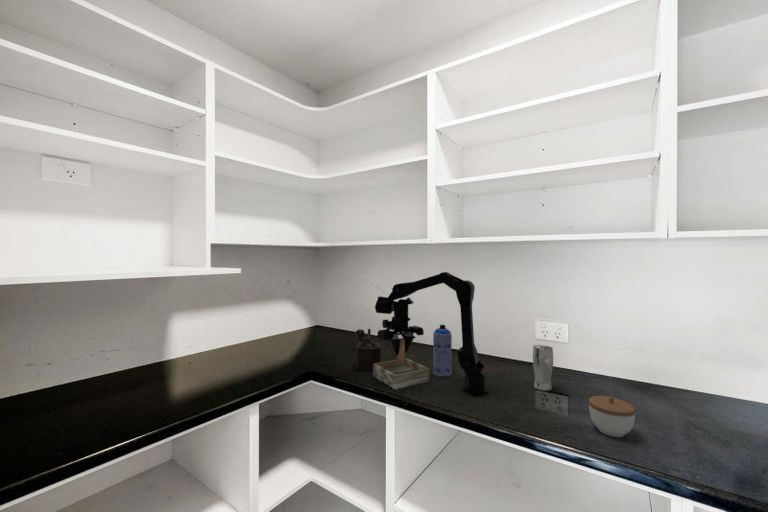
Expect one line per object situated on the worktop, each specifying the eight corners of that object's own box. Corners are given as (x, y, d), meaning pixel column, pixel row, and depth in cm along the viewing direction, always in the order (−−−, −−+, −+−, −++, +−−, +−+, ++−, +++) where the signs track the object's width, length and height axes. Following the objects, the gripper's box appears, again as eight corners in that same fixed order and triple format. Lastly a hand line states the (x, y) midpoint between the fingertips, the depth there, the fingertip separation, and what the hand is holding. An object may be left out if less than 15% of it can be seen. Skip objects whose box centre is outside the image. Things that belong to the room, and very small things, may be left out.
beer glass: (555, 391, 120) (555, 350, 120) (535, 390, 121) (535, 349, 121) (550, 384, 127) (550, 345, 127) (530, 383, 128) (530, 344, 128)
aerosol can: (455, 373, 139) (455, 325, 139) (444, 377, 133) (444, 327, 134) (440, 368, 145) (440, 322, 145) (428, 372, 139) (429, 324, 139)
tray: (429, 381, 129) (429, 368, 129) (394, 389, 121) (394, 375, 121) (405, 369, 143) (405, 358, 143) (373, 376, 134) (373, 363, 134)
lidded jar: (608, 442, 87) (608, 406, 87) (579, 422, 97) (580, 390, 97) (645, 441, 88) (645, 405, 88) (613, 421, 98) (614, 389, 98)
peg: (406, 362, 131) (406, 339, 131) (399, 363, 130) (399, 340, 130) (401, 360, 134) (402, 337, 134) (395, 361, 132) (395, 338, 132)
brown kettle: (355, 362, 152) (355, 323, 152) (379, 362, 153) (379, 323, 153) (354, 374, 136) (354, 330, 137) (381, 374, 137) (381, 330, 137)
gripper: (408, 310, 144) (408, 346, 144) (370, 313, 134) (370, 352, 134) (424, 314, 134) (424, 352, 134) (385, 318, 125) (384, 359, 124)
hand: (400, 354), depth 132 cm, fingers closed on peg, 3 cm apart
